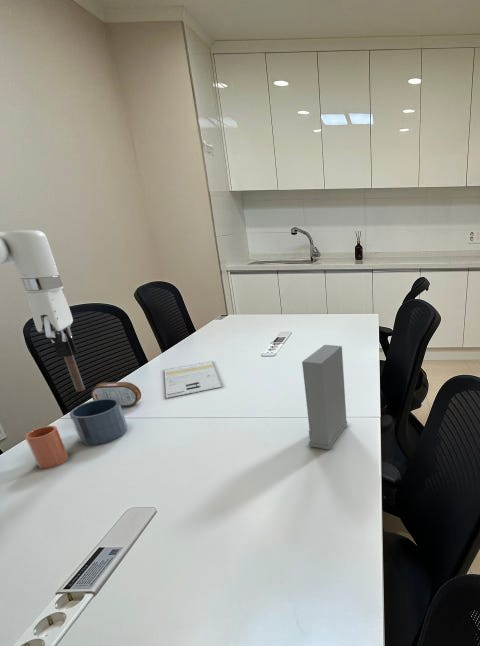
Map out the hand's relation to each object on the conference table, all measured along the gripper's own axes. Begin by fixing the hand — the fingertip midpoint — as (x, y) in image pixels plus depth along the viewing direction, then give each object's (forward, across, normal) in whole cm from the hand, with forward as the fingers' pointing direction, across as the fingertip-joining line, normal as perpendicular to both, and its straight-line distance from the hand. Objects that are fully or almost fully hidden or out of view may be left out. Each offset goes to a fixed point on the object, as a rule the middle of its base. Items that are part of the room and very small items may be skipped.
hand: (67, 354), depth 103 cm
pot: (+26, -1, +2) cm, 26 cm away
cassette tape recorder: (+26, +22, +64) cm, 73 cm away
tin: (+26, -21, +1) cm, 34 cm away
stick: (+11, 0, 0) cm, 11 cm away
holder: (+26, +10, -8) cm, 29 cm away
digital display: (+26, -38, +22) cm, 51 cm away
